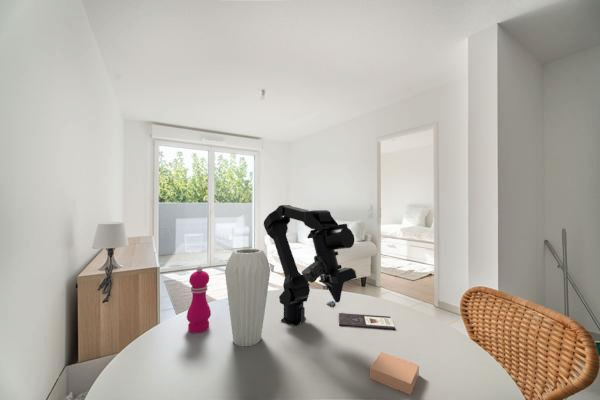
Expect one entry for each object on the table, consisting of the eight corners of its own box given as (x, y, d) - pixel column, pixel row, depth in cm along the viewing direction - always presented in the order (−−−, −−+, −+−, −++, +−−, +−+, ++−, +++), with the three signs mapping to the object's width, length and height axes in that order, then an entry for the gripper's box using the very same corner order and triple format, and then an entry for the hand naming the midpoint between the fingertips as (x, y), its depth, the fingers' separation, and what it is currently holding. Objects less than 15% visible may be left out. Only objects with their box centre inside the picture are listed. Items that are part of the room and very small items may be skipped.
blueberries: (339, 303, 107) (339, 298, 107) (342, 309, 99) (342, 304, 99) (323, 303, 107) (323, 298, 107) (325, 309, 99) (325, 304, 99)
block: (369, 367, 60) (410, 384, 54) (381, 351, 66) (418, 365, 61) (369, 379, 60) (410, 397, 54) (381, 362, 66) (418, 376, 61)
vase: (215, 339, 76) (216, 250, 77) (252, 324, 86) (253, 245, 86) (239, 358, 67) (241, 257, 67) (278, 339, 76) (279, 251, 77)
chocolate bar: (339, 312, 94) (389, 316, 92) (339, 315, 94) (389, 319, 92) (339, 324, 85) (395, 328, 83) (339, 327, 85) (395, 331, 83)
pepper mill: (191, 336, 78) (191, 270, 78) (183, 327, 83) (184, 266, 84) (214, 329, 83) (214, 266, 83) (205, 321, 88) (206, 262, 88)
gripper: (290, 257, 83) (301, 305, 82) (315, 258, 66) (330, 319, 65) (319, 248, 88) (330, 293, 87) (350, 247, 71) (365, 304, 70)
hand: (337, 301), depth 77 cm, fingers closed
